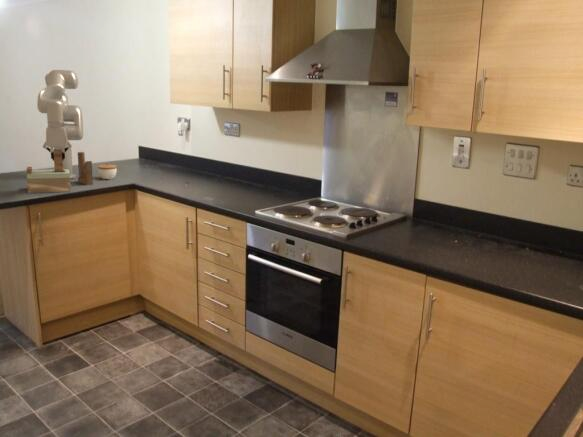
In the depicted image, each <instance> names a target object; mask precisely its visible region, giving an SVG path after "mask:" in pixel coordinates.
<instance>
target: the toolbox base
mask: <svg viewBox="0 0 583 437" xmlns="http://www.w3.org/2000/svg"><path fill="white" fill-rule="evenodd" d="M26 182H27V192H28V194H29V193H34V194H35V193H54V192H56V193H58V192H59V193H61V192H71V179H70V178H45V179H27V178H26Z"/></svg>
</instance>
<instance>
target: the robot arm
mask: <svg viewBox="0 0 583 437" xmlns="http://www.w3.org/2000/svg"><path fill="white" fill-rule="evenodd" d="M44 82H45V85H46V87H44V88H43V89H42V90H40V91H39V93H38V95H37V102H36V104H37V107H36V108H37V110H38V112H39V113H41V114H46V118H47V119H46V120H47V126H46V129H45V142H44V143H43V145H42V148H43V149H45V150H47V151H48V152H49V153H50V159H51V160H52V161H53V162H54V153H53V149H62V160H63V169H69V174H70V180H71V179H75V178H76V177H77V174H75V173H74V172H73V170H74V169H73V156H72V144H71V143H70V141H82V139H84V121H83V120H84V119H83V112H82V108H81V107H80V106H79V105H74V104H73V105H72V104H71V105H69V102H68V100H69V99H68V96H67V94H66V93H65V90H76V89H77V88H79V87H78V86H79V78H78V76H77V73H76V72H75V71H73V70H68V69H52V70H51V71H50V72H49V73H47V74H46V75H45V76H44ZM67 122H68V123H67ZM71 122H72V123H71Z"/></svg>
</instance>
